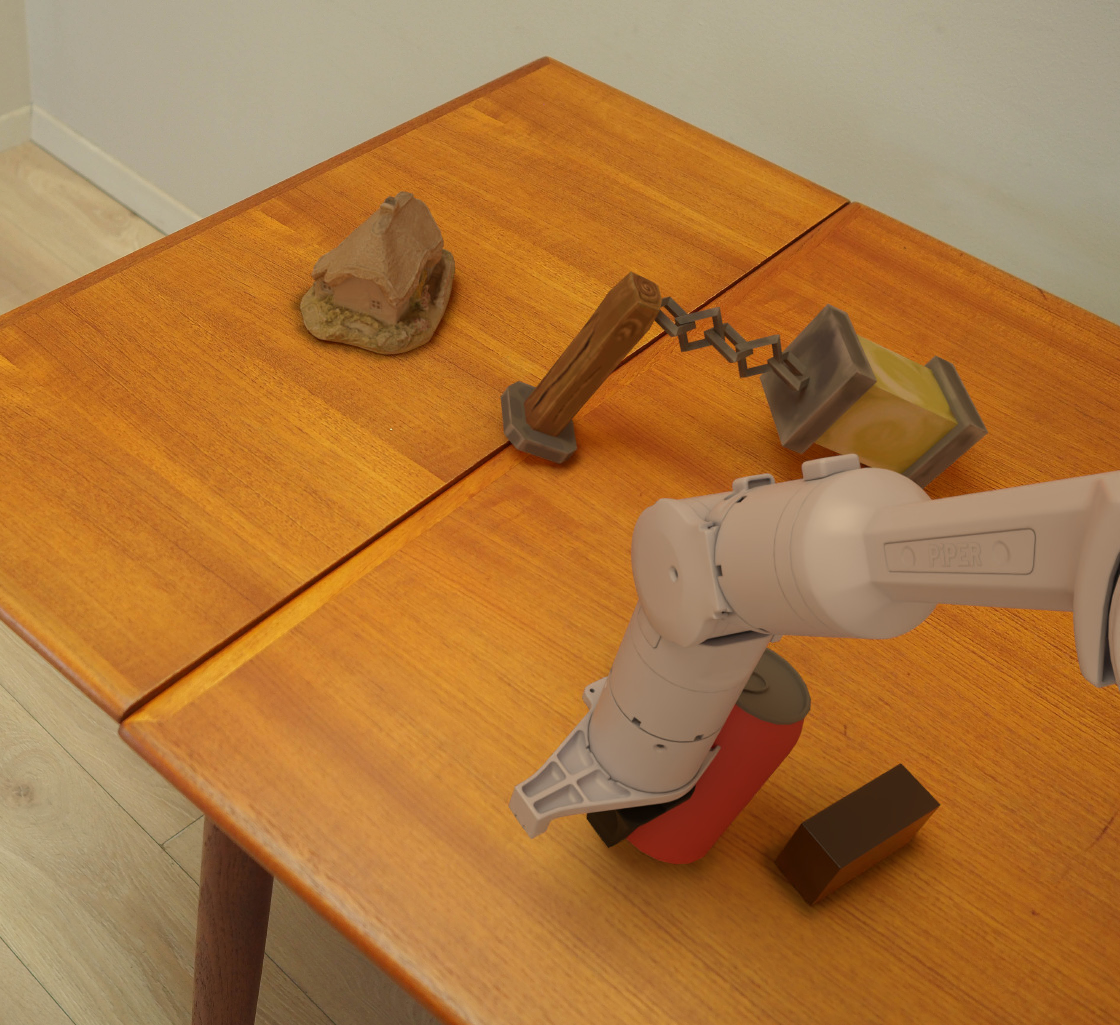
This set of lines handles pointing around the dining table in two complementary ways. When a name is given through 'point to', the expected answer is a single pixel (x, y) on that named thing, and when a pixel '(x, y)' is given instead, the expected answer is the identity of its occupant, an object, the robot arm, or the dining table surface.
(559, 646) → the dining table surface
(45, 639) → the dining table surface
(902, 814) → the walnut block
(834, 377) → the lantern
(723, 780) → the beer can
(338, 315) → the ceramic model
